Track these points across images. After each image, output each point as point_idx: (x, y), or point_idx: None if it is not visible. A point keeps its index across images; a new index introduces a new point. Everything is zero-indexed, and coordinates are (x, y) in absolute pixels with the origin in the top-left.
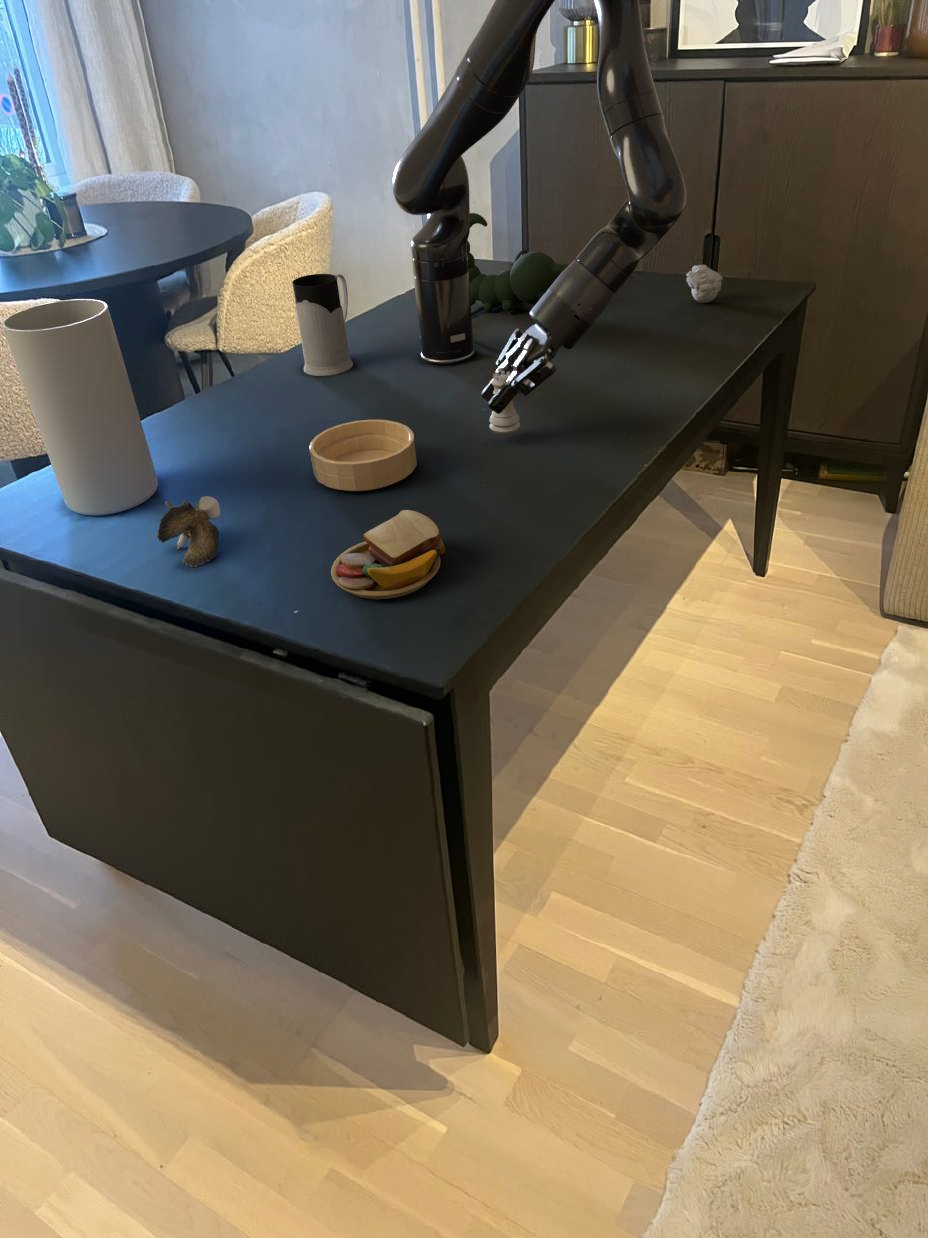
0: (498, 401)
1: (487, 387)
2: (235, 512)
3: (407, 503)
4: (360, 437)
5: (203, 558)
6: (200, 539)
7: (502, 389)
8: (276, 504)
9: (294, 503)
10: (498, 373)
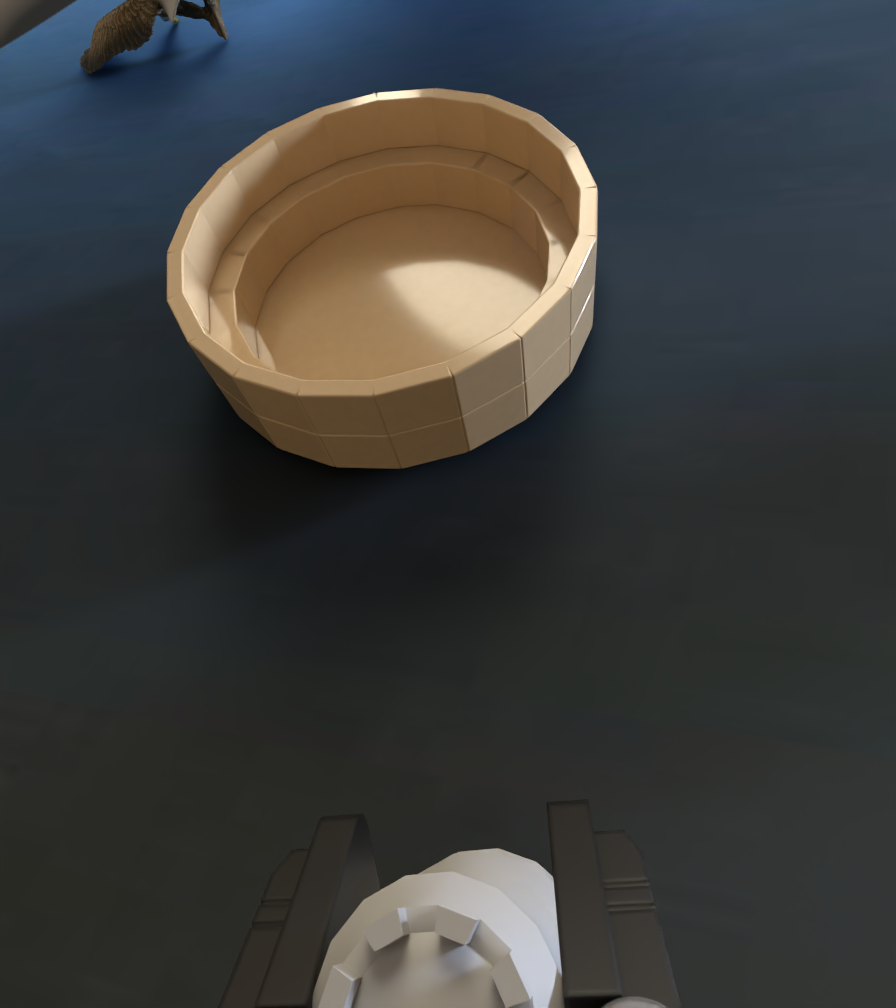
0: (264, 896)
1: (557, 855)
2: (289, 72)
3: (99, 435)
4: (550, 250)
5: (87, 57)
6: (102, 20)
7: (271, 964)
8: None
9: None
10: (502, 998)
